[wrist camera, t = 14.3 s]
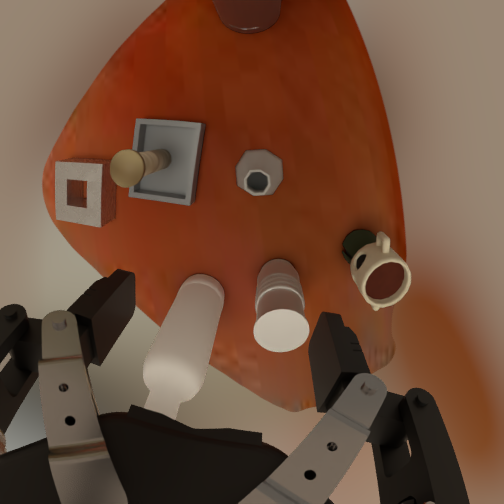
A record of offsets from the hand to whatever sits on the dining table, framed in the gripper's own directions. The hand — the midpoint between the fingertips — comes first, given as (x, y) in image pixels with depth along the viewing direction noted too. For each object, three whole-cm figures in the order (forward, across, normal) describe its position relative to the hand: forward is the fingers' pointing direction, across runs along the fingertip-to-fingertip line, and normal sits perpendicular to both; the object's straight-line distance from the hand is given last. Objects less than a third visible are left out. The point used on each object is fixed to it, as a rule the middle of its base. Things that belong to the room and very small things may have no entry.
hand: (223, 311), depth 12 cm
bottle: (+33, +5, +20) cm, 39 cm away
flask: (+33, 0, -2) cm, 33 cm away
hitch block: (+33, +28, +5) cm, 43 cm away
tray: (+33, +14, -2) cm, 35 cm away
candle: (+33, -7, +14) cm, 36 cm away
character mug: (+33, -19, +6) cm, 38 cm away
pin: (+32, +15, -2) cm, 35 cm away
